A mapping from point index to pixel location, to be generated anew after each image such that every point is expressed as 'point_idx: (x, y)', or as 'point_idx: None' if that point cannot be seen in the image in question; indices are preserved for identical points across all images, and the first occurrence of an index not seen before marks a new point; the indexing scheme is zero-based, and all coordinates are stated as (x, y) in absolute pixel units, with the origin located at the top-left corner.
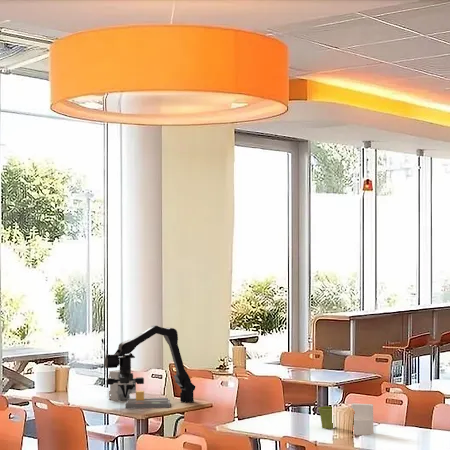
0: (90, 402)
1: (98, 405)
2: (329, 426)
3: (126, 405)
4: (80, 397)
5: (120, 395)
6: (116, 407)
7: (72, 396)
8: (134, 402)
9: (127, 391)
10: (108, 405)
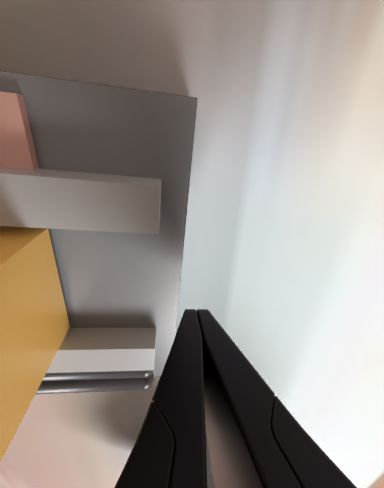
0: (365, 402)
1: (375, 319)
2: None
3: (181, 98)
4: (346, 475)
5: (212, 475)
6: (280, 199)
7: (361, 484)
8: (54, 171)
9: (163, 409)
10: (312, 312)
